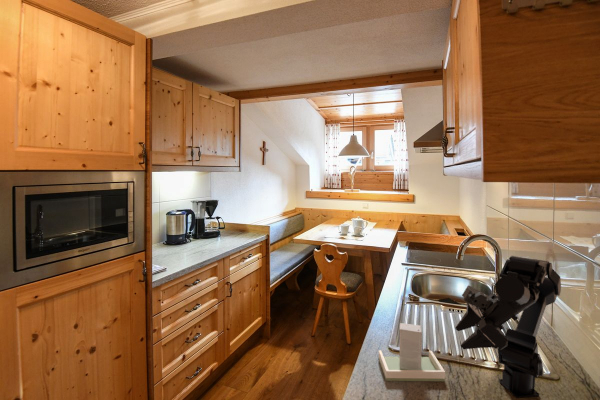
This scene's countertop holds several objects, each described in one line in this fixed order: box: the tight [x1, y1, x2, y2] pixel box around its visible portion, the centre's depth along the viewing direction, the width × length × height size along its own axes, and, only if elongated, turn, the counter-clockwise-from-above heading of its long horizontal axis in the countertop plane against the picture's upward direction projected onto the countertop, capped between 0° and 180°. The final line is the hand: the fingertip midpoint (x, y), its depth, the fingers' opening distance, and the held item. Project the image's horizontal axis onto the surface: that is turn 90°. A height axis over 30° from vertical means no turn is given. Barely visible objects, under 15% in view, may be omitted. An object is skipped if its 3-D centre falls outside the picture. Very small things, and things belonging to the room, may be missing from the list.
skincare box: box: [399, 322, 423, 370], centre depth 92 cm, size 6×4×12 cm
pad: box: [378, 350, 446, 382], centre depth 92 cm, size 16×10×3 cm, turn 88°
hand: (459, 338), depth 83 cm, fingers open, 9 cm apart
